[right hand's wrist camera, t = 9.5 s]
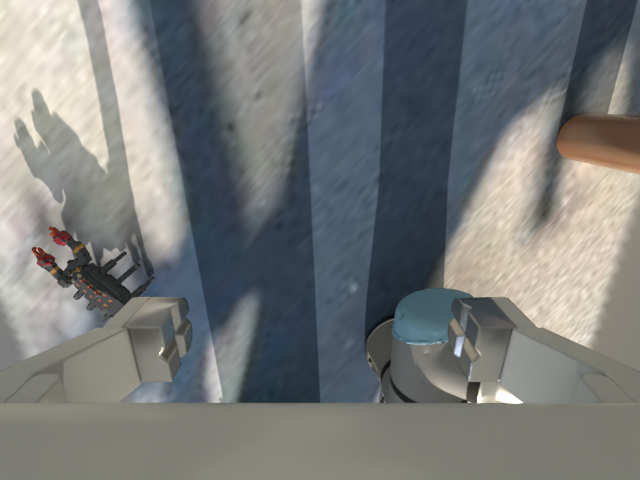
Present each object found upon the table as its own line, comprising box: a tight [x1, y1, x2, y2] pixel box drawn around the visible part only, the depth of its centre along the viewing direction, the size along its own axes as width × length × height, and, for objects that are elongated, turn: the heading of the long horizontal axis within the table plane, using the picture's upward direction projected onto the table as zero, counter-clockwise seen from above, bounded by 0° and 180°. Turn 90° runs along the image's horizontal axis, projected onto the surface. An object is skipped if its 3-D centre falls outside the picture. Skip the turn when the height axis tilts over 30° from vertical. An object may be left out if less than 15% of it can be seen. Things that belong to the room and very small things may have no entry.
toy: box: [32, 227, 155, 323], centre depth 56 cm, size 13×27×18 cm, turn 39°
